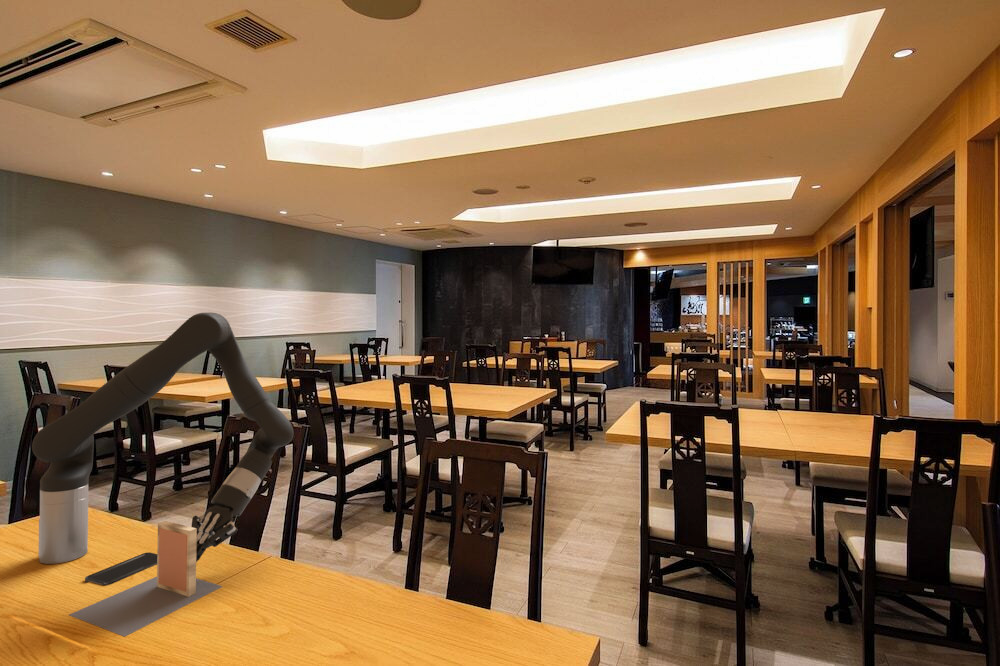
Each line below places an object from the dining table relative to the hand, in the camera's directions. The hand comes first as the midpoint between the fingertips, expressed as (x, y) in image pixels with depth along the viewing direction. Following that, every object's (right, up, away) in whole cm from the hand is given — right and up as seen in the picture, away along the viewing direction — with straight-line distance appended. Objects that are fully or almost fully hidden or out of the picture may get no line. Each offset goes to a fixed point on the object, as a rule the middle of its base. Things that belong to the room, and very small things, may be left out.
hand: (189, 561), depth 119 cm
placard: (-1, -5, -3) cm, 6 cm away
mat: (-4, -5, -7) cm, 10 cm away
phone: (-18, -5, +6) cm, 20 cm away
